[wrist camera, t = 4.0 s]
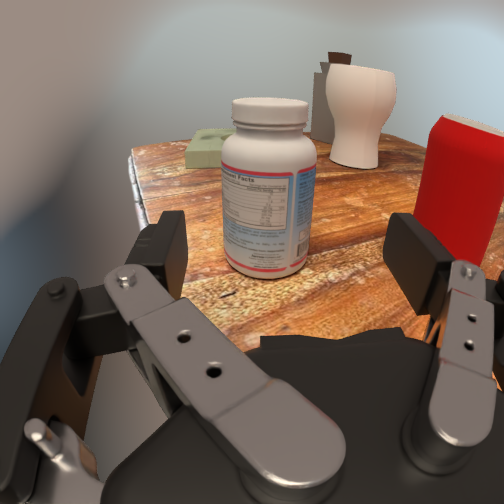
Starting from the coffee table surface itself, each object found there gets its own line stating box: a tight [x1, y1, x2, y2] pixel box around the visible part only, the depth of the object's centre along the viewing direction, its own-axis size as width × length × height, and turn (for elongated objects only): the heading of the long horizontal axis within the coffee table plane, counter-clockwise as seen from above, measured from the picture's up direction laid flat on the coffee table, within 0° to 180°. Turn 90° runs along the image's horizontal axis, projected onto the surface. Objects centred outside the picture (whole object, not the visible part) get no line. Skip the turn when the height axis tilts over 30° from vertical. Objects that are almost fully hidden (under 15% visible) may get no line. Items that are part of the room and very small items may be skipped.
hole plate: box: [185, 129, 237, 169], centre depth 49 cm, size 16×16×2 cm
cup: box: [326, 64, 396, 169], centre depth 44 cm, size 11×11×15 cm
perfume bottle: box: [310, 52, 352, 144], centre depth 55 cm, size 7×7×18 cm
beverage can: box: [413, 114, 504, 267], centre depth 19 cm, size 6×6×12 cm
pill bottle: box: [221, 97, 317, 279], centre depth 21 cm, size 6×6×11 cm
